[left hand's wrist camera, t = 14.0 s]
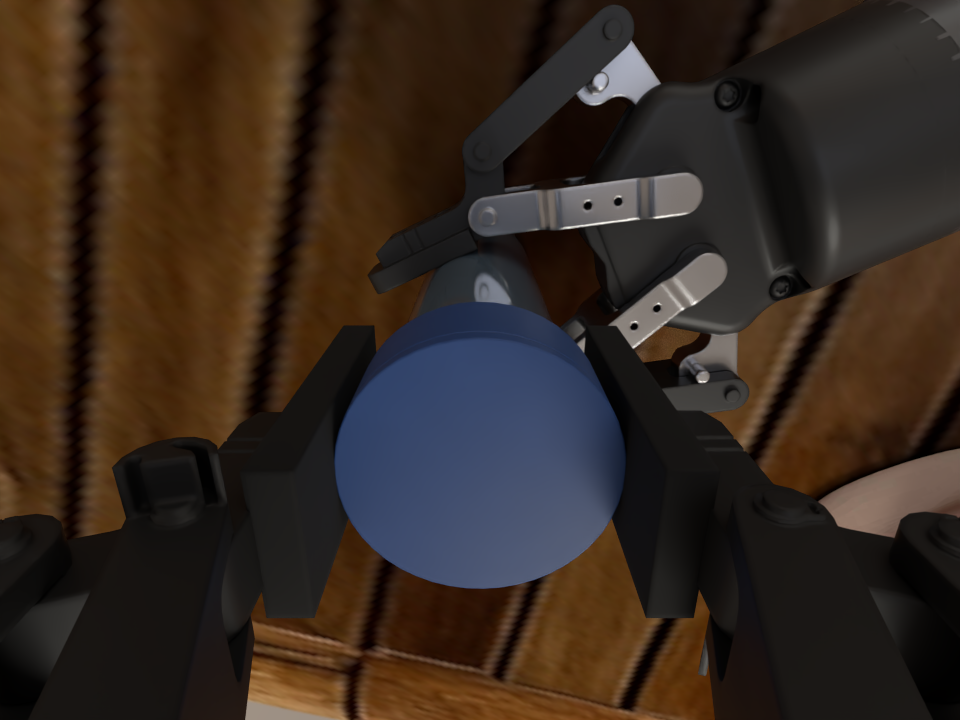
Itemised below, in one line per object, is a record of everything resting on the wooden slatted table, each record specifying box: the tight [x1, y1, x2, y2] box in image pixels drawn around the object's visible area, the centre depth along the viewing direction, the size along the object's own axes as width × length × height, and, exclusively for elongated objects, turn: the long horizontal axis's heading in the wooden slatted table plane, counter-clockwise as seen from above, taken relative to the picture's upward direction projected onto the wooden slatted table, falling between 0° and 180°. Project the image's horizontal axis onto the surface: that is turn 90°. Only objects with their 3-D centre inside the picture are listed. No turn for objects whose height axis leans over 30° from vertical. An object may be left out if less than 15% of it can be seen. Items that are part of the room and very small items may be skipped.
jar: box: [408, 234, 553, 323], centre depth 18 cm, size 4×4×16 cm
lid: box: [334, 302, 626, 589], centre depth 11 cm, size 5×5×2 cm
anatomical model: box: [818, 449, 960, 538], centre depth 29 cm, size 13×4×12 cm
